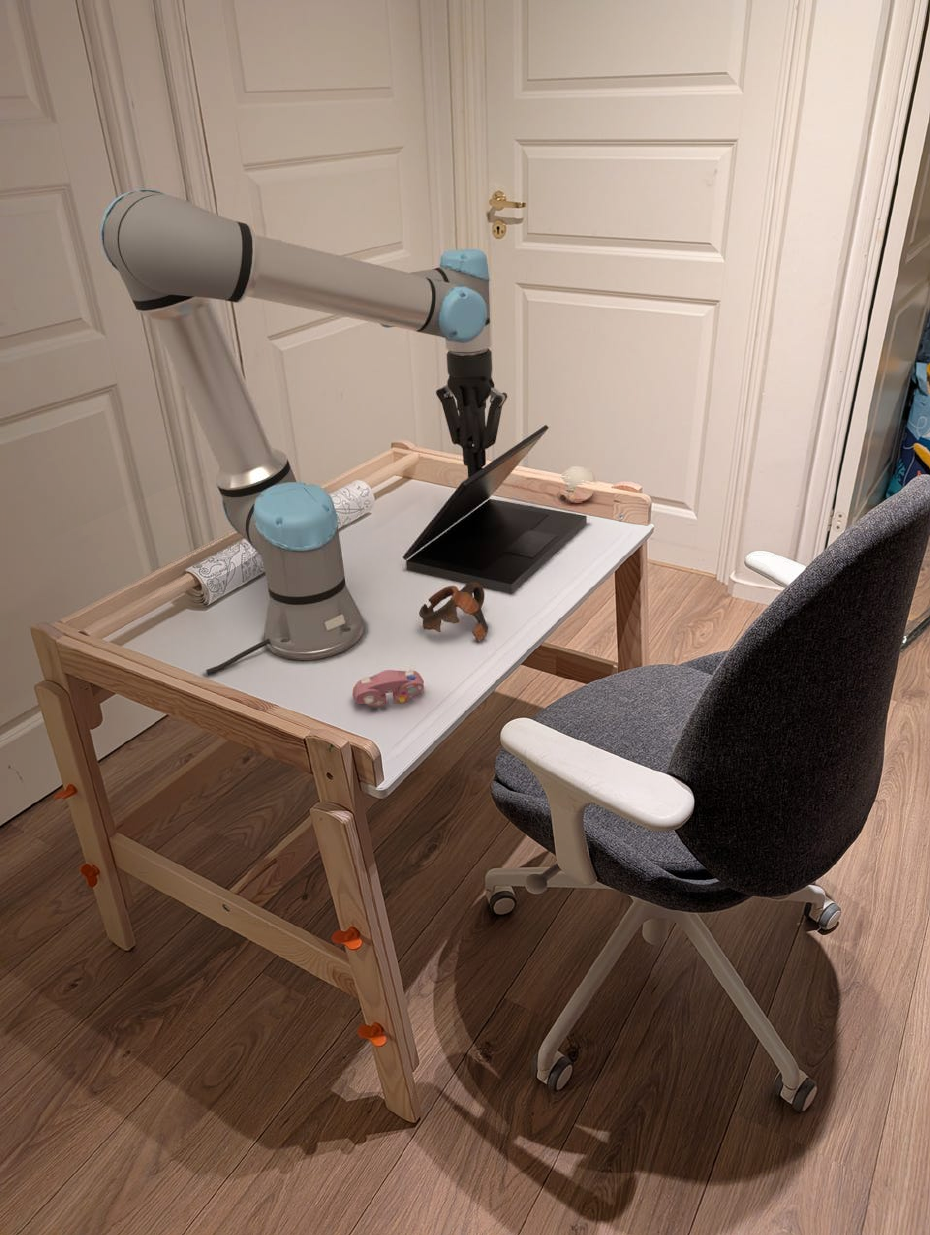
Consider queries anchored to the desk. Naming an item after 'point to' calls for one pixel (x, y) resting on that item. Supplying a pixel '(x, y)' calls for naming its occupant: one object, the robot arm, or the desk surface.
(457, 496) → the laptop screen
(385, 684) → the video game controller
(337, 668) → the desk surface
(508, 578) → the laptop
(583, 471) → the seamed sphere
